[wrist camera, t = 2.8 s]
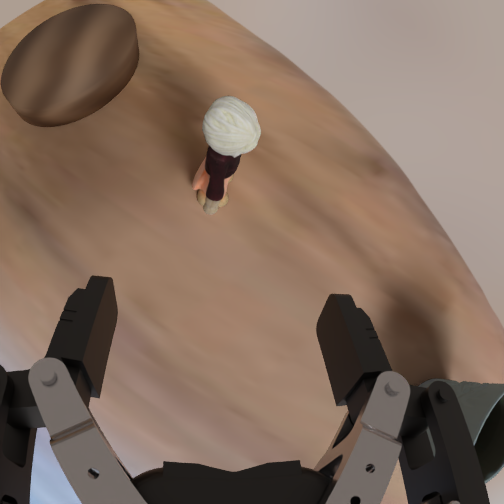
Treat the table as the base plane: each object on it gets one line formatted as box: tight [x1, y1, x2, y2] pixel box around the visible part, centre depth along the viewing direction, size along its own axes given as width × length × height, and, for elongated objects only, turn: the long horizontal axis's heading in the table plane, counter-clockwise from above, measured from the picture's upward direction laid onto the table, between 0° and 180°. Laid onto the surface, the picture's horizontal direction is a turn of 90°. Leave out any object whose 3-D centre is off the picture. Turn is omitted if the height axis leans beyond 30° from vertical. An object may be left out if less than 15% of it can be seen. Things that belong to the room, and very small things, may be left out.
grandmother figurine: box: [192, 96, 261, 215], centre depth 21 cm, size 8×4×13 cm, turn 178°
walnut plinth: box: [1, 4, 139, 127], centre depth 25 cm, size 16×16×4 cm
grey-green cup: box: [418, 379, 504, 483], centre depth 23 cm, size 10×10×12 cm
